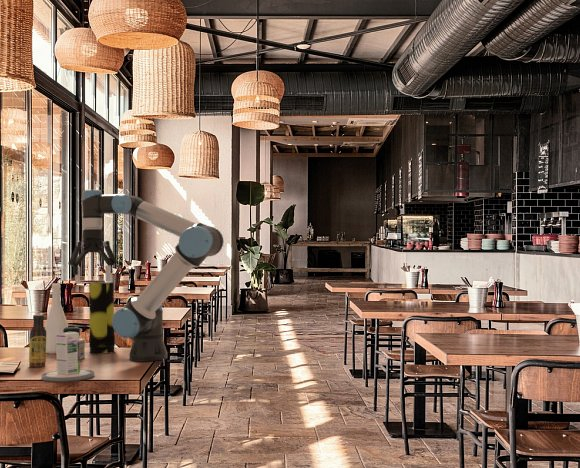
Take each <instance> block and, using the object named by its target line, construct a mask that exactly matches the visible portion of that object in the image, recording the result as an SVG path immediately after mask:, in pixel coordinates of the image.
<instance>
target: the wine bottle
mask: <svg viewBox="0 0 580 468" xmlns="http://www.w3.org/2000/svg"><path fill="white" fill-rule="evenodd" d="M61 287H62V286H61V284H60V283H58V282H57V283H52V284H51V289H52V290H51V292H52V295H51V297H52V299H51V300H52V301H51V306H50V308H49V312H48V315H47V318H46V320H45V324H44V325H45V326H44V328H45V330H46V354H49V355H51V354H53V355H55V354H56V355H57V353H56V334H58V333H63V329H64V328H66V327H69V325H68V324H69V323H68V320H67V318H66V315H65V312H64V309H63V306H62V303H61V302H62V301H61Z"/></svg>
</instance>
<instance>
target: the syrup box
mask: <svg viewBox="0 0 580 468" xmlns="http://www.w3.org/2000/svg"><path fill="white" fill-rule="evenodd" d="M79 339H80V338H79V333H78V332H65V333H58V334H56V353H57V354H56V371H57V374H61V375H70V374H75V373H80V370H81V365H80V364H81V362H80V360H81V359H80V356H79Z"/></svg>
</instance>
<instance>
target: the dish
mask: <svg viewBox="0 0 580 468" xmlns="http://www.w3.org/2000/svg"><path fill="white" fill-rule="evenodd" d="M94 377H95V371H94V370H89V369H80V373H75V374H70V375H61V374H57V370H53V371H48V372H44V373H42V374H41V380H42V381H44V382H50V383H51V382H52V383H67V382H68V383H69V382H77V381H78V382H79V381H85V380H88V379H89V380H90V379H91V378H92V379H93V378H94Z"/></svg>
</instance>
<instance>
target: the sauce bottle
mask: <svg viewBox="0 0 580 468" xmlns="http://www.w3.org/2000/svg"><path fill="white" fill-rule="evenodd" d="M32 319H33V323H32V325H33V326H32V328H31V330H30V332H29V346H28V347H29V348H28V349H29V350H28V351H29V352H28V362H29V367H31V368H40V367H41V368H42V367H45V366H46V363H47V361H46V360H47V353H46V330H45V326H44V325H45V324H44V321H45V320H44V319H45V315H44V314H34V315H33V316H32Z"/></svg>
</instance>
